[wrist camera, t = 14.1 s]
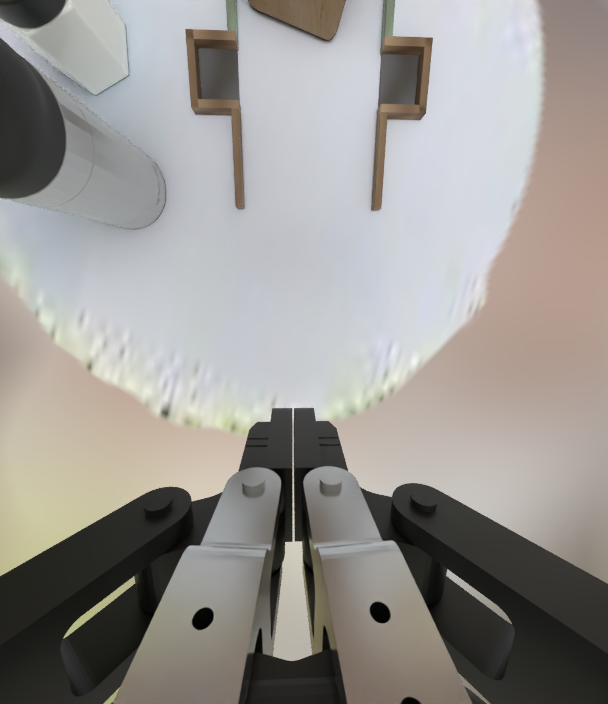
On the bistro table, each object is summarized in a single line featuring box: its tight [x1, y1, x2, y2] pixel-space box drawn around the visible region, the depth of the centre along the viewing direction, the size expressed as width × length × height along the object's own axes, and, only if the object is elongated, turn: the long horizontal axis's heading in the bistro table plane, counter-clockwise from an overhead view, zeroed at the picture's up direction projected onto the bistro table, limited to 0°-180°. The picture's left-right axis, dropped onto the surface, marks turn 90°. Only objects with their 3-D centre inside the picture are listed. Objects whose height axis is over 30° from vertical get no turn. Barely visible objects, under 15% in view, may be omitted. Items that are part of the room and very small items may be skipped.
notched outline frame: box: [185, 0, 433, 210], centre depth 34 cm, size 26×30×2 cm
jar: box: [0, 0, 129, 95], centre depth 28 cm, size 9×8×12 cm
